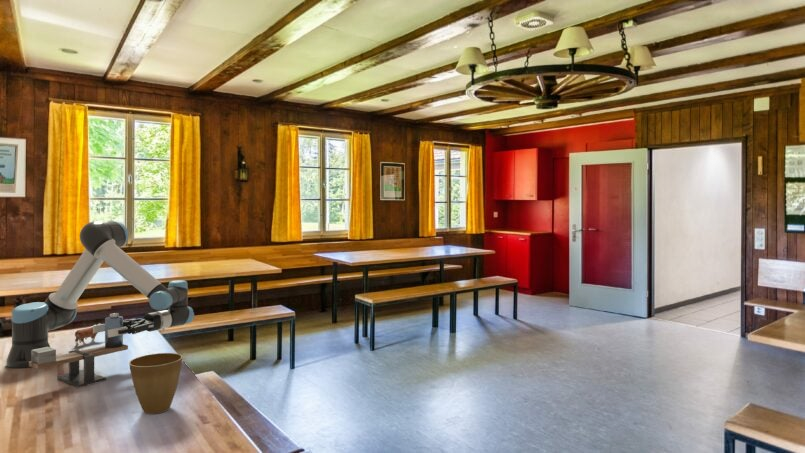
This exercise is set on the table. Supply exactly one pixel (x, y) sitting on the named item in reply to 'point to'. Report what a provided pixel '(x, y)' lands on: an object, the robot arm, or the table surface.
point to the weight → (113, 323)
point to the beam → (66, 356)
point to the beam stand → (82, 373)
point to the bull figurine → (85, 334)
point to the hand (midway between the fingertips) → (100, 331)
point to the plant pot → (156, 380)
